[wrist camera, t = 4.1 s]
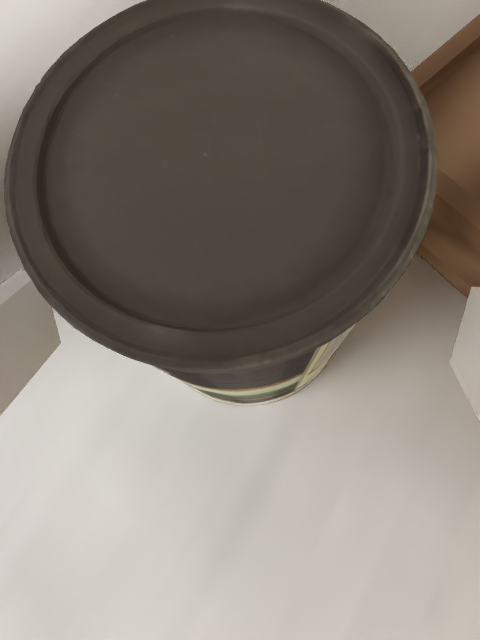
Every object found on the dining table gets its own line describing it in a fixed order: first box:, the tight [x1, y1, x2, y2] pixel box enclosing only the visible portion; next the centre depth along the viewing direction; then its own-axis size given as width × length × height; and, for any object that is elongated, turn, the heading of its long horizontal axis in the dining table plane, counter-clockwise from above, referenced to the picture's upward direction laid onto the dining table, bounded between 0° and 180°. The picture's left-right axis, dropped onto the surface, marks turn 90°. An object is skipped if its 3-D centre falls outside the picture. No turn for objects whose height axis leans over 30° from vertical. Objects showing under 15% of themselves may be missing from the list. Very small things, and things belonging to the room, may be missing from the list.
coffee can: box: [4, 0, 438, 406], centre depth 17 cm, size 10×10×14 cm
